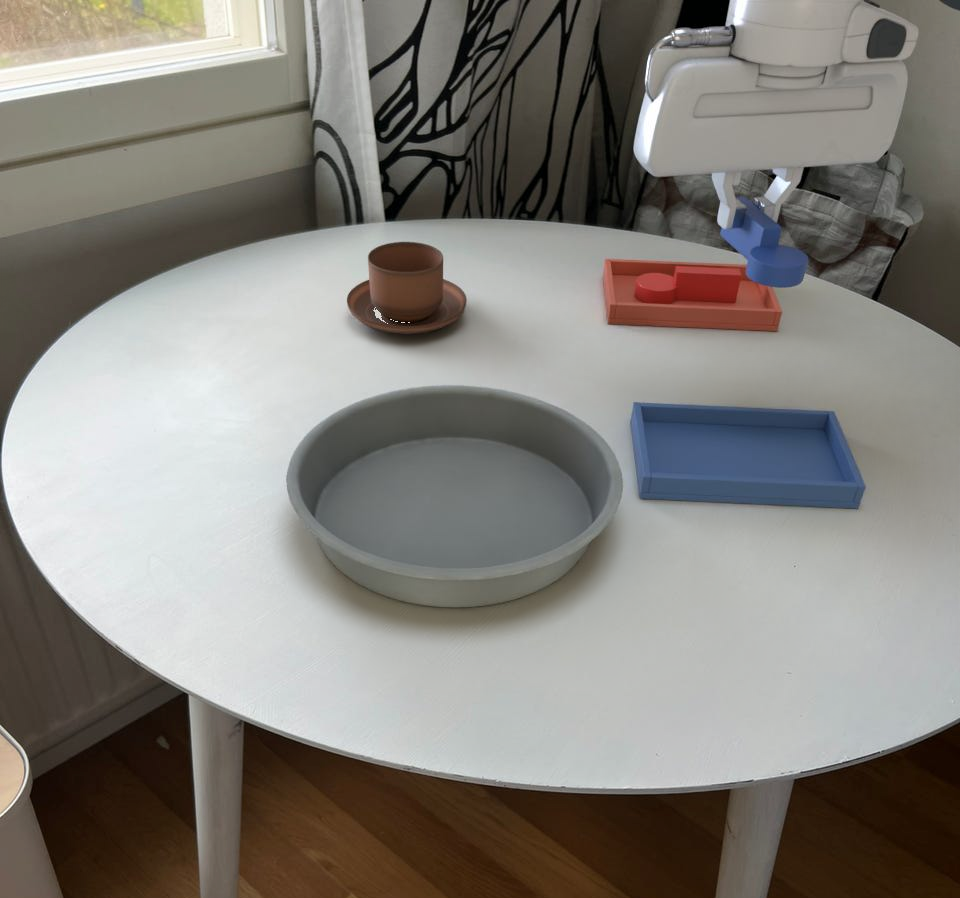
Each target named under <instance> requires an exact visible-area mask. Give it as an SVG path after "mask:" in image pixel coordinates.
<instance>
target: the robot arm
mask: <svg viewBox="0 0 960 898" xmlns="http://www.w3.org/2000/svg"><path fill="white" fill-rule="evenodd" d="M938 1H939V2H941V3H942V4H943V5H945V6H947V7H949V8H951V9H953V10H956V11H959V12H960V0H938ZM918 38H919V28H918V26H917V25H915V23H912V22H910V21H909V20H907V19H905V18H903V17H901V16H899V15H897V14H895V13H893V12H890V11H888V10H886V9H883V8H881V6H880V4H878V3H876V2H875V1H873V0H729V4H728V9H727V15H726V21H725V25H723V26H707V27H703V28H690V27H678V28H674V29H672V30H671V31H670V33H669V35H666V36H664V37H663V38H661V39H660V40H658V41H657V43H656V44H655V45H654V46H653V47H652V49H651V50H650V52H649V54H648V57H647V58H648V59H647V63H646V71H645V78H644V87H645V93H644V96H643V99H642V100H643V101H642V103H641V107H640V112H639V115H638V120H637V124H636V130H635V135H634V139H633V140H634V141H633V154H634V156H635V158H636V160H637V161H638V163H639V164H640V165H641V167H642V168H643V169H644V170H645V171H646V172H648V173H649V174H650V175H651V176H653V177H656V178H663V177H678V176H690V175H691V176H692V175H708V174H710V175H711V181H712V183H713V186H714V188H715V191H716V195H717V197H718V200H719V201H720V202H719V206H718V207H719V208H718V213H717V217H716V218H717V219H716V221H717V224H718V226H720V228H723V229H733V228H741V227H742V226H743V222H744V220H743V218H744V216H745V214H746V210H747V206H745V205H744V204H742V203H741V201H739V200H738V199H736V198H737V197H736V195H735V192H734V187H735V186H739V185H740V184H741V179H742V175H743V172H751V171H753V172H754V171H767V170H768V171H769V170H772V173H773V174H774V175H775V176H776V177H775V178H774V180H772V182H771V184H770V186H769V187H768V189H767V190H766V192H765V193H764V195H763V196H757V197H754V199H753V202H752V203H753V204H754V205H755V206H756V207H758V208H759V209H760V210H761V211H762V212H764V213H765V214H766V215H767V216H769V217H770V218H771V219H772V220H774V221H775V222H776V223H777V224H778V220H779V215H780V211H781V207H782V205H783V204H784V203H785V202H786V201H787V199H788V198H789V197H790V195H791V194H792V193H793V192H794V191H795V189H796V188H797V186H798V185H800V183H801V180H802V176H803V172H804V169H805V168H811V167H813V168H815V167H826V166H841V165H844V166H845V165H858V164H872V163H877V162H878V161H879V160H880V159H881V158H882V157H883V156H884V155H885V153H886V152H887V151H888V150H889V149H890V148H891V146H892V144H893V141H894V138H895V136H896V132H897V129H898V125H899V122H900V119H901V115H902V111H903V108H904V107H903V106H904V103H905V98H906V93H907V88H908V79H909V76H908V69H907V66H906V64H905V63H904V62H903V61H902V60H906V59H908V58H909V57H910V56H911V55H912V53H913V52H914V50H915V48H916V45H917V43H918ZM667 44H669V46H665V45H667ZM733 186H734V187H733Z"/></svg>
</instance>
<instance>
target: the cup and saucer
mask: <svg viewBox="0 0 960 898" xmlns="http://www.w3.org/2000/svg"><path fill="white" fill-rule="evenodd" d="M367 265H368V266H367V267H368V279H366V280H364V281H362V282H360V283H358V284H356V285H355V286H354V287H353V288H351V290H350V291H349V292H348V293H347V297H346V304H347V308H348V310H349V312H350V313H351V314H352V316H353V317H354V318H355V319H356V320H358V321H359V322H361V323H362V324H364V325H365V326H367V327H370V328H372V329H375V330H379V331H381V332H386V333H392V334H405V335H407V334H409V335H410V334H411V335H412V334H421V333H427V332H432V331H436V330H439V329H441V328H444V327H446V326H448V325H451V324H452V323H453V322H454V321H456V320H457V319H459V317H460V316H461V315H463V313H464V312H465V310H466V306H467V301H468V299H467V294H466V293H465V292H464V290H463V289H462V288H461V287H459V285H457V284H455V283H453V282H452V281H449V280H448V279H444V255H443V252H441V251H440V249H438V248H437V247H434V246H432V245H430V244H426V243H422V242H417V241H416V242H415V241H395V242H389V243H385V244H381V245H378V246H377V247H375V248H373V249H372V250H370V251H369V253H368V255H367ZM375 307H376V308H375ZM374 308H375V310H376V309H377V310H378V311H379V312H380V313H381V316H382V317H381V318H382V320H384V321H385V322H386V323H385V322H383V321H381V320H380V319H379V318H376V316H375V312H374V311H373V310H374ZM390 319H392V320H390ZM393 320H394V321H393ZM395 321H398V322H395ZM401 322H405V323H401ZM408 322H410V323H408ZM387 323H388V324H387Z"/></svg>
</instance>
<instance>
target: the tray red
mask: <svg viewBox="0 0 960 898" xmlns="http://www.w3.org/2000/svg"><path fill="white" fill-rule="evenodd" d="M676 266H688V267H710V268H732V269H740V272H741V275H742V276H741V280H740V285H739V289H738V294H737V298H736V303H722V302H700V301H679V300H675V301H674V302H673V303H671V304H648V303H643V302H641V301H639V300H638V299H637V298H636V297H635V288H636V281H637V278H638V277H639V276H641V275H643V274H647V273H662V274H666V275H670V276H672V277H674V273H675V267H676ZM746 267H747V264H741V263H740V264H739V263H735V264H734V263H717V262H716V263H715V262H695V261H693V262H691V261H667V260H646V259H644V260H643V259H640V260H639V259H623V258H622V259H621V258H604V264H603V270H602V271H603V272H602V283H603V291H604V293H603V294H604V299H605V300H604V301H605V302H604V303H605V310H606V319H607V324H608V325H623V326H624V325H627V326H647V327H669V328H693V329H714V330H715V329H716V330H717V329H718V330H742V331H761V332H762V331H764V332H778V330H779V327H780V326H779V325H780V322H781V319H782V315H783V310H782V307H781V305H780V302H779V300H778V298H777V295H776V293H775V289H774V287H770V286H765V285H761V284H759V283H756V282H754V281H752V280H751V279H749V278H748V277H747V275H746Z"/></svg>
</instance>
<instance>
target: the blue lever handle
mask: <svg viewBox="0 0 960 898" xmlns="http://www.w3.org/2000/svg"><path fill="white" fill-rule="evenodd" d="M735 198H736V199H738V200H739V201H741V203H742V204H744V205H745V206H747V210H746V214H745V216H744V218H743V220H744V222H743V226H742V227H741V228H733V229H723V228H722V227H720V232H719V235H720V236H721V237H722V239H724V240H725V241H726V242H727V243H728V244H729V245H731V247H733V248H734V249H735V251H737V252H738V253H739V254H740V255H741V256H742V257H744V259H745V260H747V264H746V265H747V267H746V275H747V277H748V278H749V279H751V280H752V281H754V282H756V283H759V284H761V285H765V286H770V287H772V288H777V289H778V288H780V289H781V288H783V289H784V288H792V287H793V288H794V287H796V286H799V285H800V284H802V282H804V278H805V274H806V271H807V267H808V263H809V256H808V255H807V254H806V253H805V252H804V251H802V250H800V249H798V248H796V247H793V246H789V245H785V244H779V242H780V239H781V234H782V230H783V227H782V226H781V225H780V224H779V223H778V222H777V223H776V222H775V221H774V220H772V219H771V218H770V217H769V216H767V215H766V214H765V213H764V212H762V211H761V210H760V209H759V208H758V207H756V206H755V205H754V204H753V203H754V202H752V201H750V200H749V199H748V198H746V197H745V196H738V197H735Z"/></svg>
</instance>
